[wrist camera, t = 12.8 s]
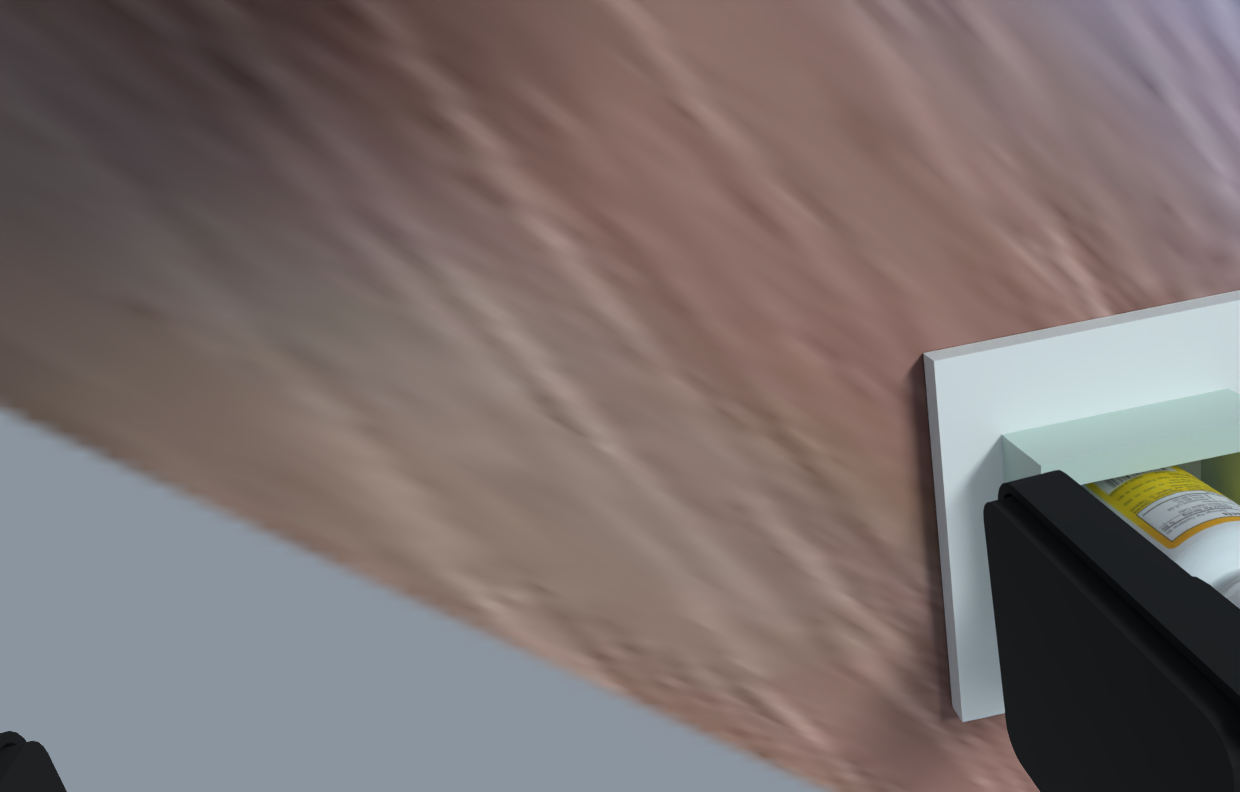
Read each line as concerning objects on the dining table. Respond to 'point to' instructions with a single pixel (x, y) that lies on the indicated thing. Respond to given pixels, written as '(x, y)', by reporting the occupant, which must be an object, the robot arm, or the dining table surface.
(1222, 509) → the supplement bottle
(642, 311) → the dining table surface
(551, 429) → the dining table surface
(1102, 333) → the cup holder
